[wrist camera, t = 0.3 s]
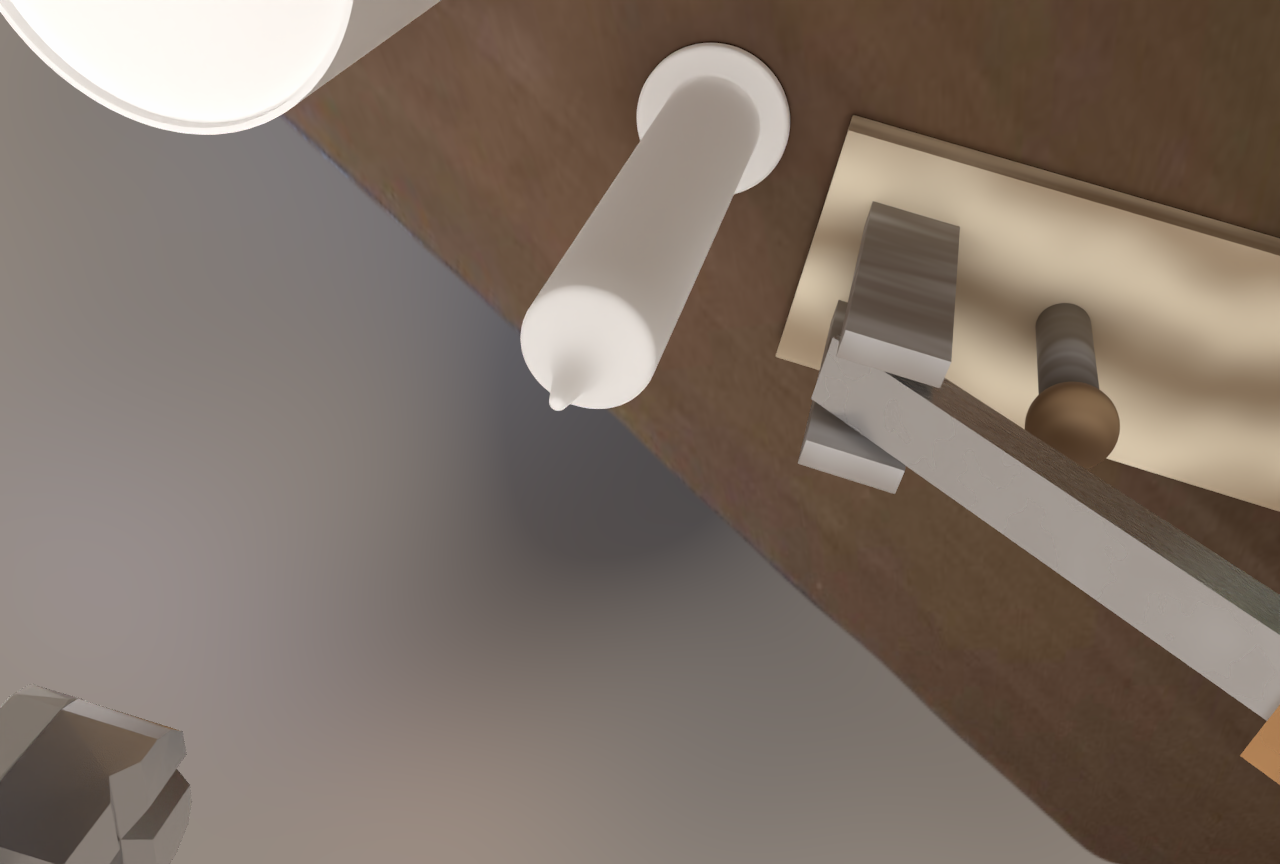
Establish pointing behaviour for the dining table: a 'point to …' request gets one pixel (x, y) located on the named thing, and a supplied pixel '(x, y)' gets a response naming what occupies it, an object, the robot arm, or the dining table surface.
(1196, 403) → the press base
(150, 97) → the canister
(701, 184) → the candle
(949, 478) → the press lever
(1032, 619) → the dining table surface
